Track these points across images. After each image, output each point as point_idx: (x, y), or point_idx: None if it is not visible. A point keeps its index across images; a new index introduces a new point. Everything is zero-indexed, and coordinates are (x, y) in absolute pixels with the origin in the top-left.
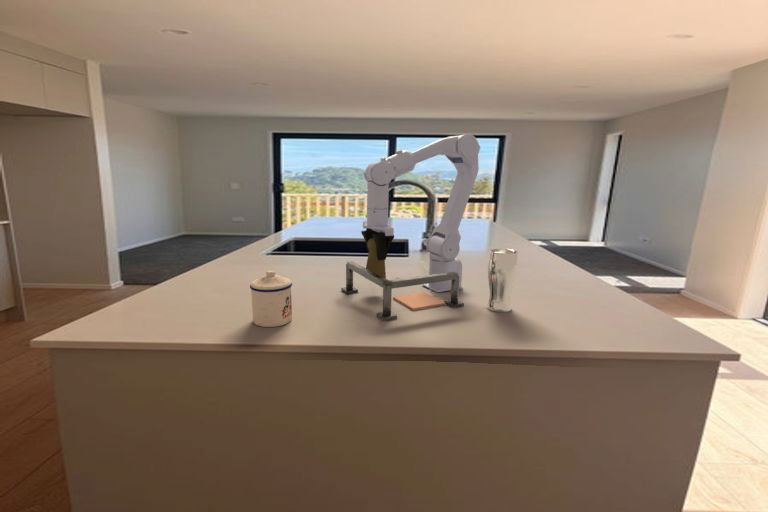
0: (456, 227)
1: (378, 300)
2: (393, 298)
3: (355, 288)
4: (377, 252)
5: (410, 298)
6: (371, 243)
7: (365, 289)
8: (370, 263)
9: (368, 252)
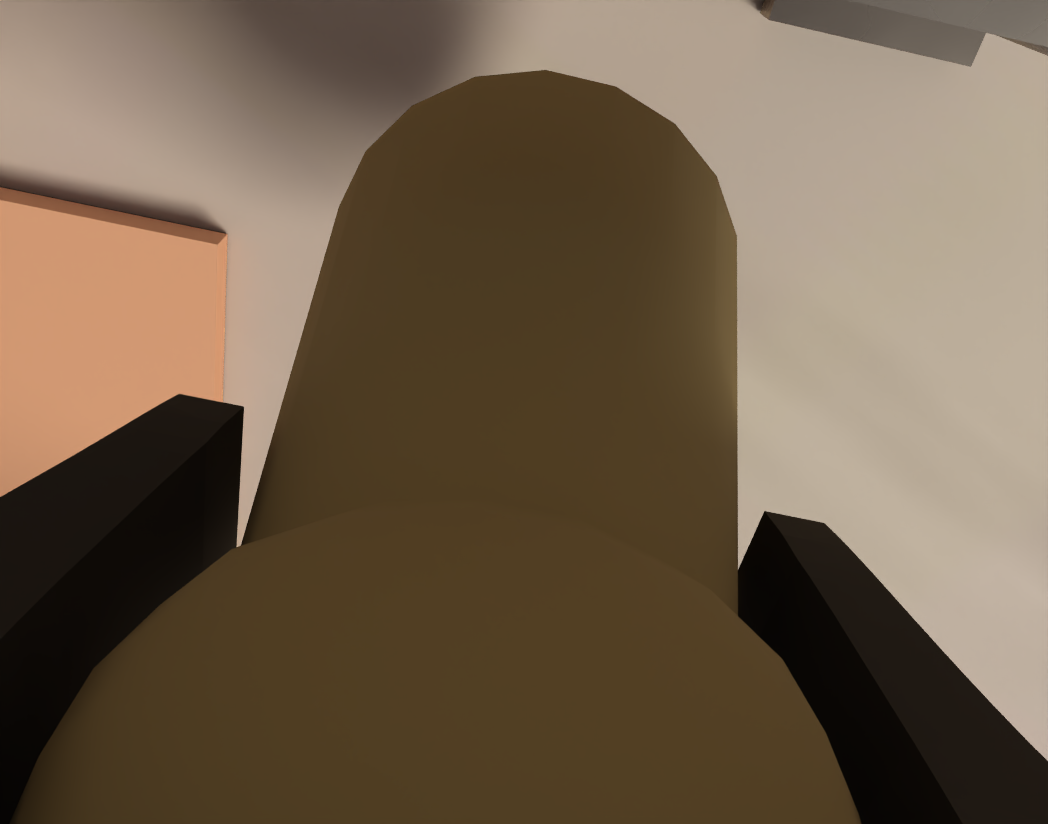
0: None
1: (270, 30)
2: (210, 233)
3: (849, 27)
4: (52, 498)
5: (63, 363)
6: (247, 733)
7: (788, 204)
8: (448, 245)
9: (834, 567)
